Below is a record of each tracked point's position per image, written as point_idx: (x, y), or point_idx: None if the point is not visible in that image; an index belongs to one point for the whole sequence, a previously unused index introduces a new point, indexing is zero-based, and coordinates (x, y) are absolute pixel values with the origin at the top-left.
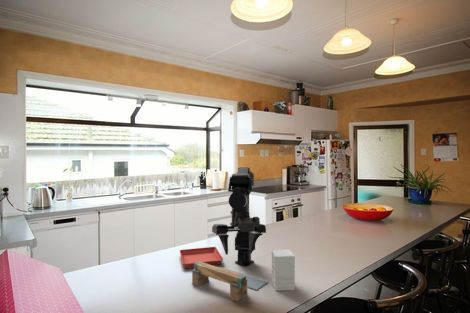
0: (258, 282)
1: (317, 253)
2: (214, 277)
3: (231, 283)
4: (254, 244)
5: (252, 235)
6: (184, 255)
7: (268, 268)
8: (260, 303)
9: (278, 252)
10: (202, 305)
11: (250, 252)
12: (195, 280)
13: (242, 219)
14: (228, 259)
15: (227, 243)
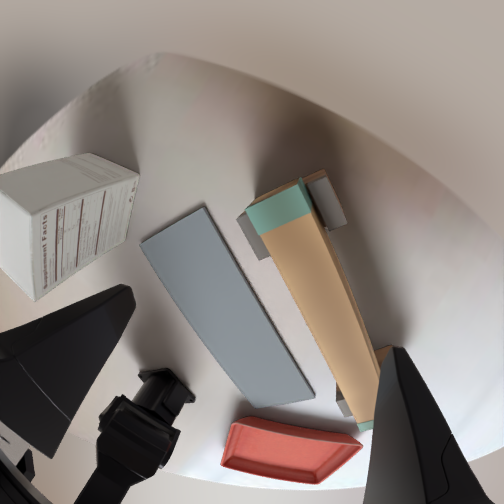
0: (171, 255)
1: (12, 304)
2: (365, 328)
3: (341, 219)
4: (48, 317)
5: (11, 403)
6: (311, 470)
7: None
8: (239, 110)
9: (15, 252)
10: (452, 217)
11: (129, 297)
12: None
13: None
14: (205, 420)
15: (425, 457)
